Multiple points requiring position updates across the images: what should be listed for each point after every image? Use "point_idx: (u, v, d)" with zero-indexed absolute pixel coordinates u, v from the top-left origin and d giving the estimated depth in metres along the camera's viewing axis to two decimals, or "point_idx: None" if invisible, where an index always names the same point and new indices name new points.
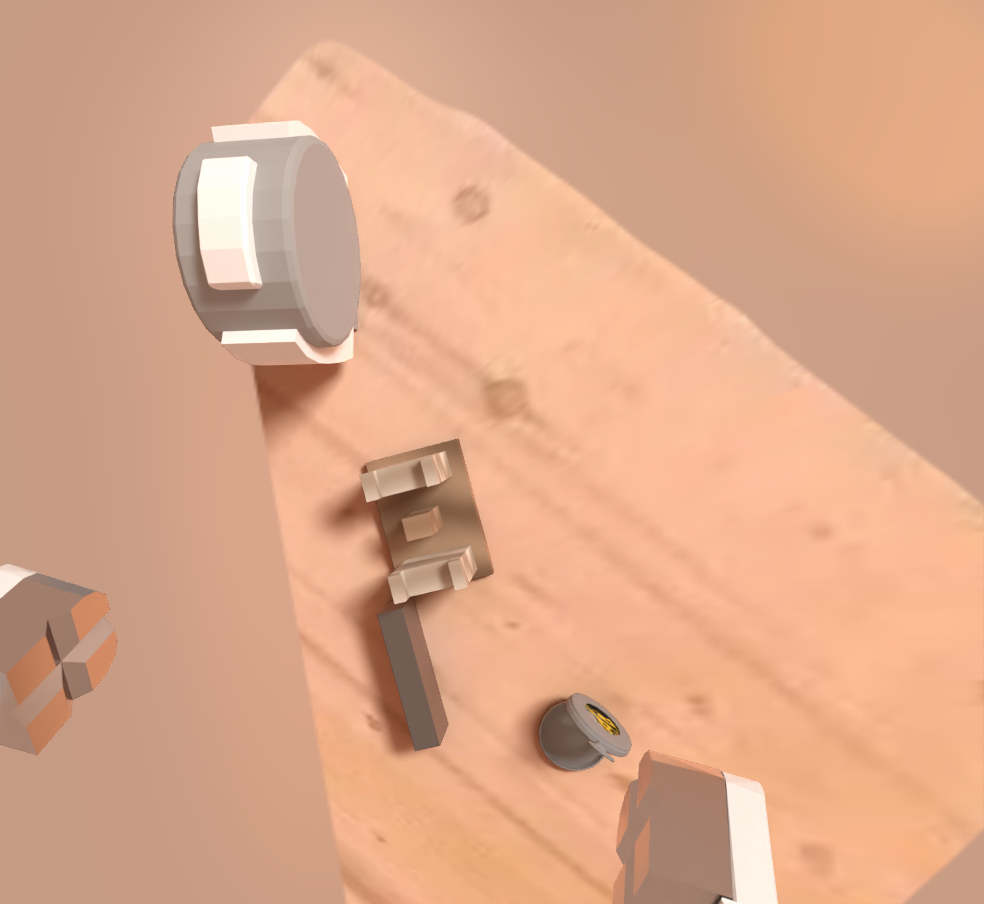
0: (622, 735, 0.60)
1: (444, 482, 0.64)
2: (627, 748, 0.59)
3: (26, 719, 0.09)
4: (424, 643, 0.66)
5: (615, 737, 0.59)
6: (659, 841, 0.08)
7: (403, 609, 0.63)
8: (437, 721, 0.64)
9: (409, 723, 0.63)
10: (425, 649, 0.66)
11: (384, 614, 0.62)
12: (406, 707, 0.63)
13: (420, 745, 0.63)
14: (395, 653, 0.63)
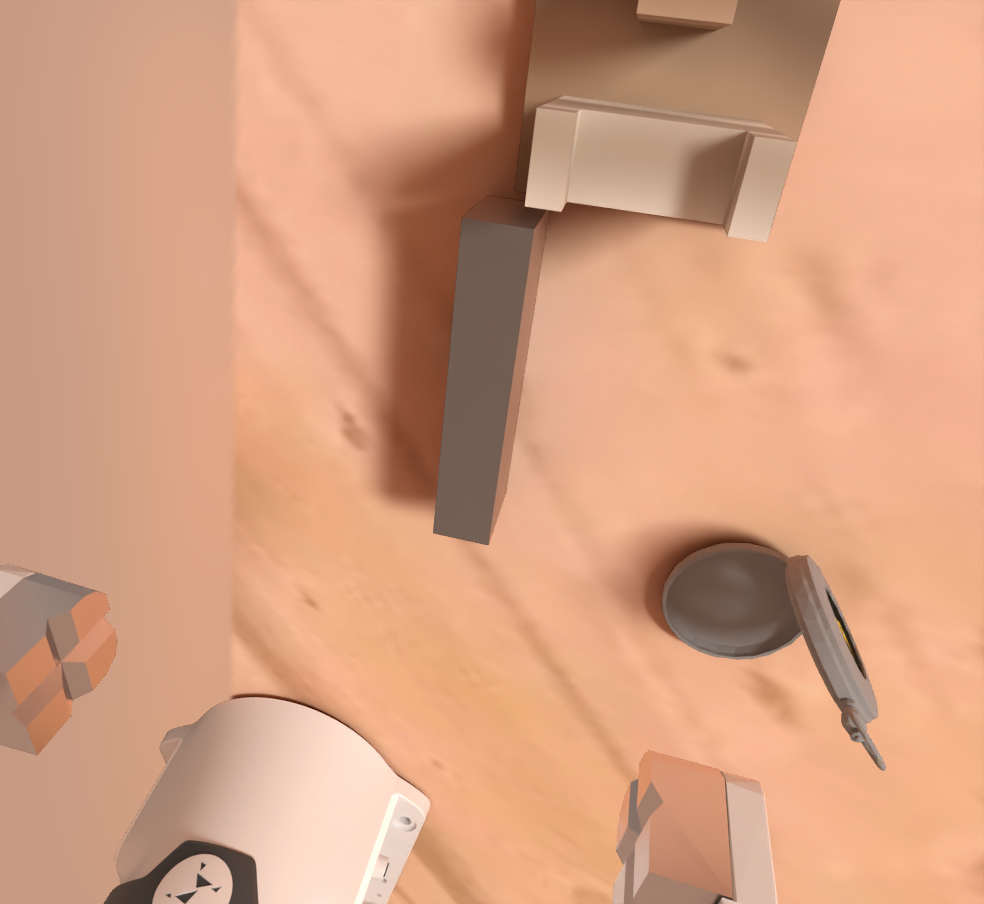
0: (866, 672, 0.28)
1: None
2: (877, 711, 0.27)
3: (26, 719, 0.09)
4: (530, 326, 0.28)
5: (868, 686, 0.26)
6: (659, 841, 0.08)
7: (535, 232, 0.23)
8: (498, 495, 0.29)
9: (442, 483, 0.28)
10: (527, 341, 0.28)
11: (481, 225, 0.22)
12: (448, 452, 0.27)
13: (448, 528, 0.29)
14: (470, 333, 0.24)
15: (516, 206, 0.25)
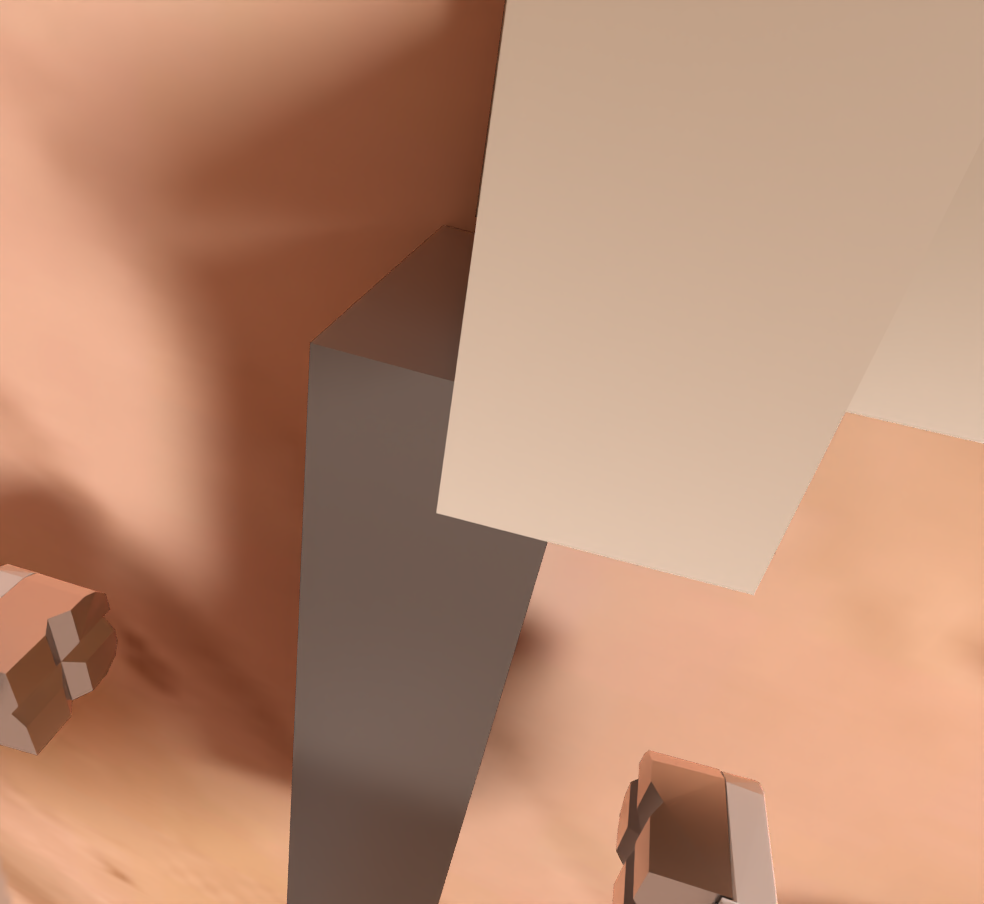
0: None
1: None
2: None
3: (26, 719, 0.09)
4: None
5: None
6: (659, 841, 0.08)
7: None
8: None
9: None
10: None
11: (382, 378, 0.06)
12: (307, 866, 0.11)
13: None
14: (354, 664, 0.08)
15: None
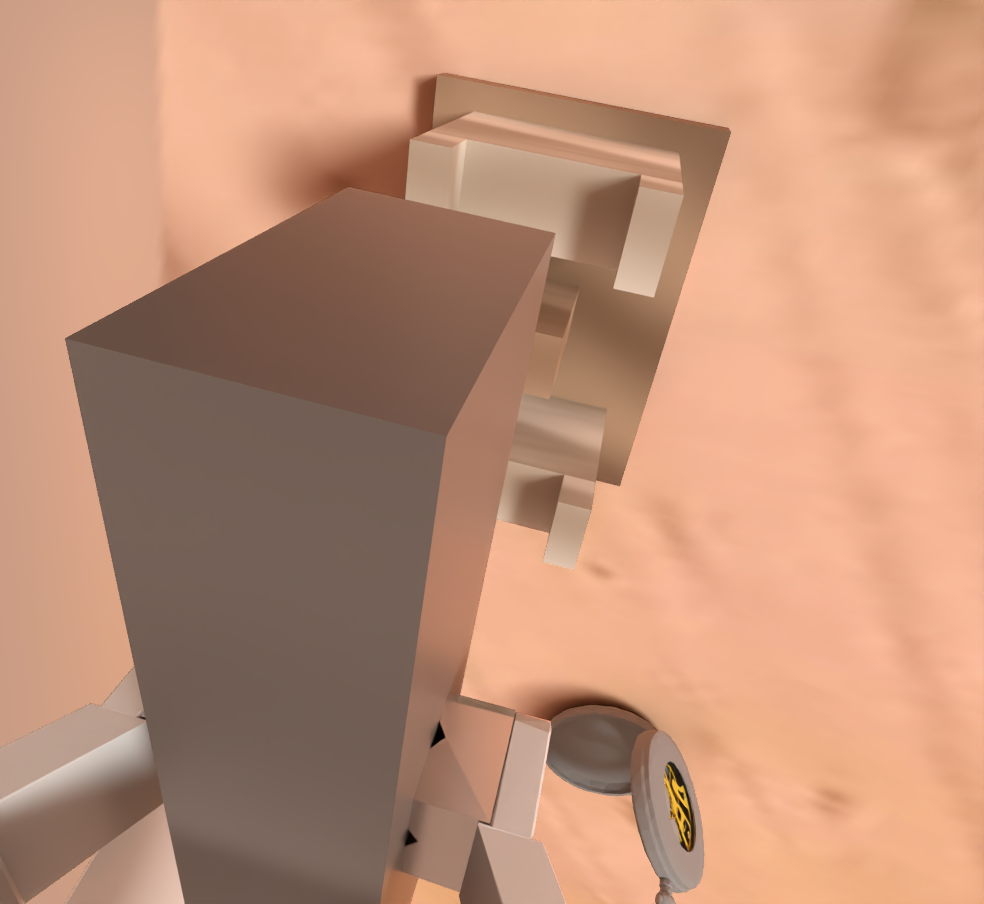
0: (698, 837, 0.32)
1: None
2: (700, 877, 0.31)
3: None
4: (479, 577, 0.10)
5: (692, 858, 0.31)
6: (431, 772, 0.08)
7: (458, 431, 0.04)
8: None
9: None
10: (468, 621, 0.10)
11: (167, 386, 0.04)
12: None
13: None
14: (218, 744, 0.06)
15: (422, 245, 0.07)
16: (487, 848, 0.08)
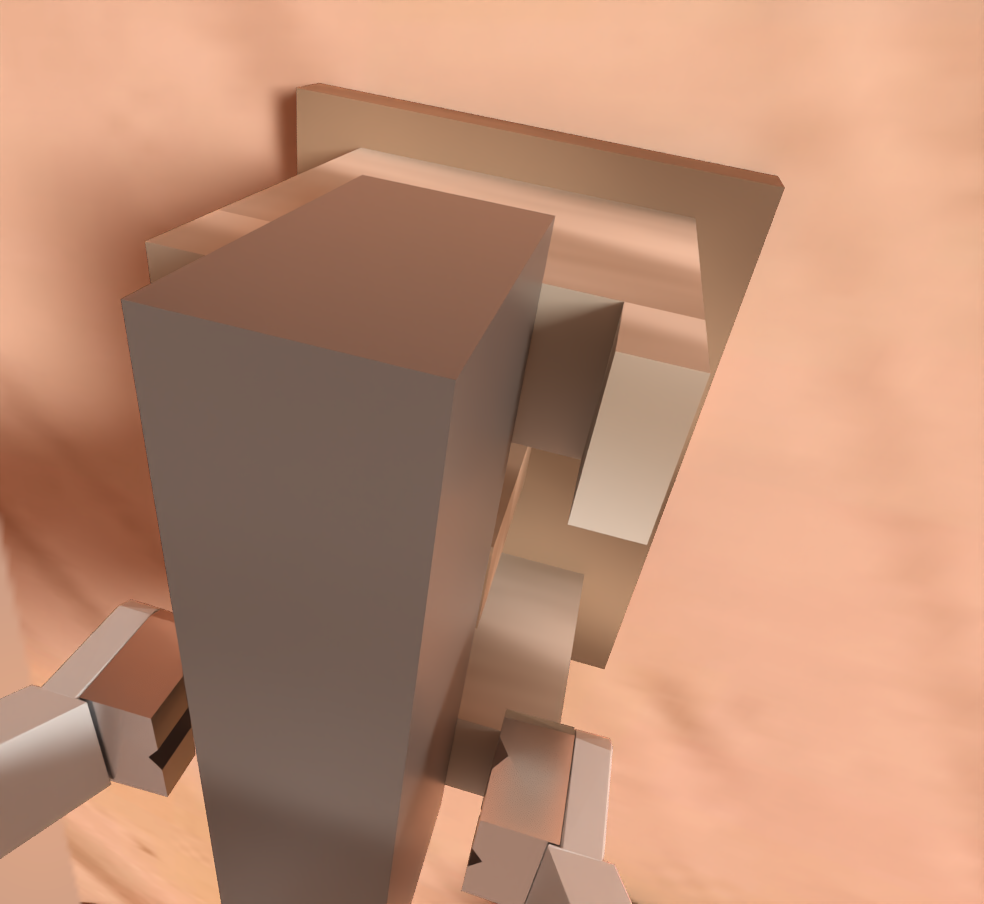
0: None
1: None
2: None
3: (161, 761, 0.09)
4: (486, 545, 0.10)
5: None
6: (496, 792, 0.08)
7: (466, 379, 0.05)
8: None
9: None
10: (476, 586, 0.10)
11: (211, 340, 0.05)
12: (240, 899, 0.10)
13: None
14: (246, 684, 0.07)
15: (432, 225, 0.07)
16: (559, 871, 0.08)
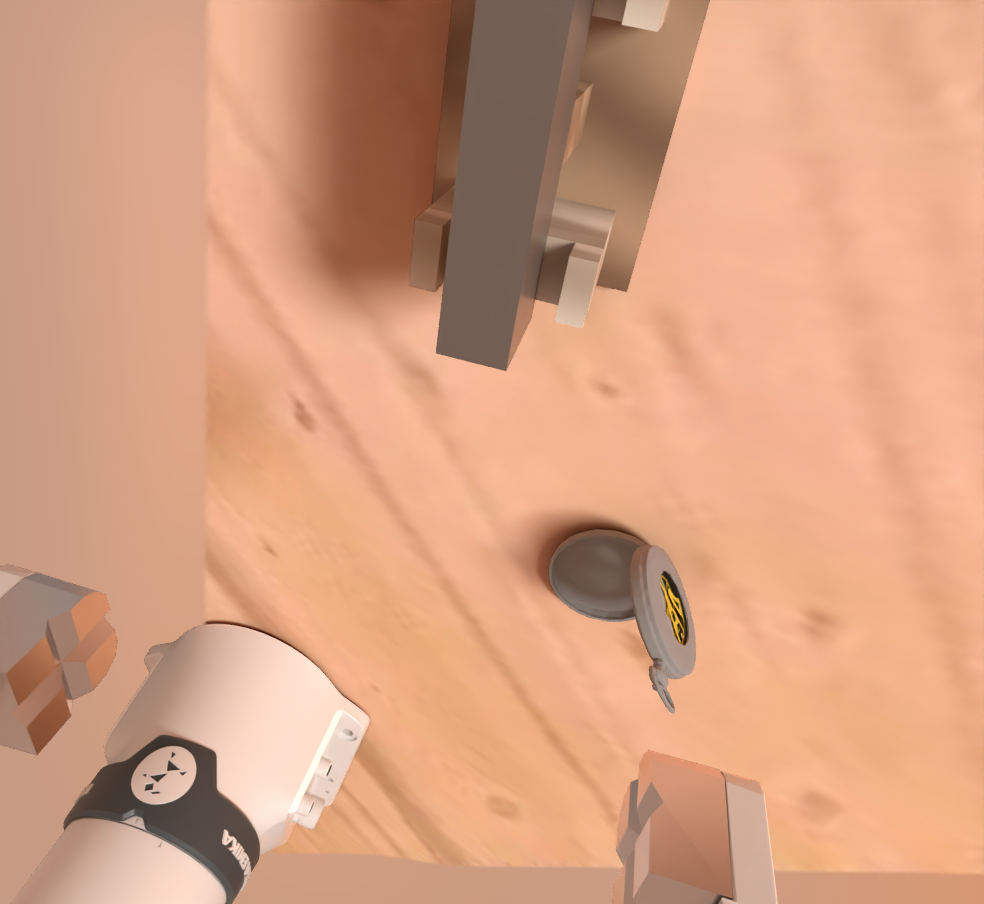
0: (690, 639, 0.35)
1: (637, 30, 0.24)
2: (691, 669, 0.34)
3: (26, 719, 0.09)
4: (578, 70, 0.21)
5: (684, 650, 0.34)
6: (659, 841, 0.08)
7: None
8: (523, 307, 0.22)
9: (450, 280, 0.21)
10: (572, 90, 0.21)
11: None
12: (460, 232, 0.20)
13: (455, 347, 0.22)
14: (499, 39, 0.17)
15: None
16: None
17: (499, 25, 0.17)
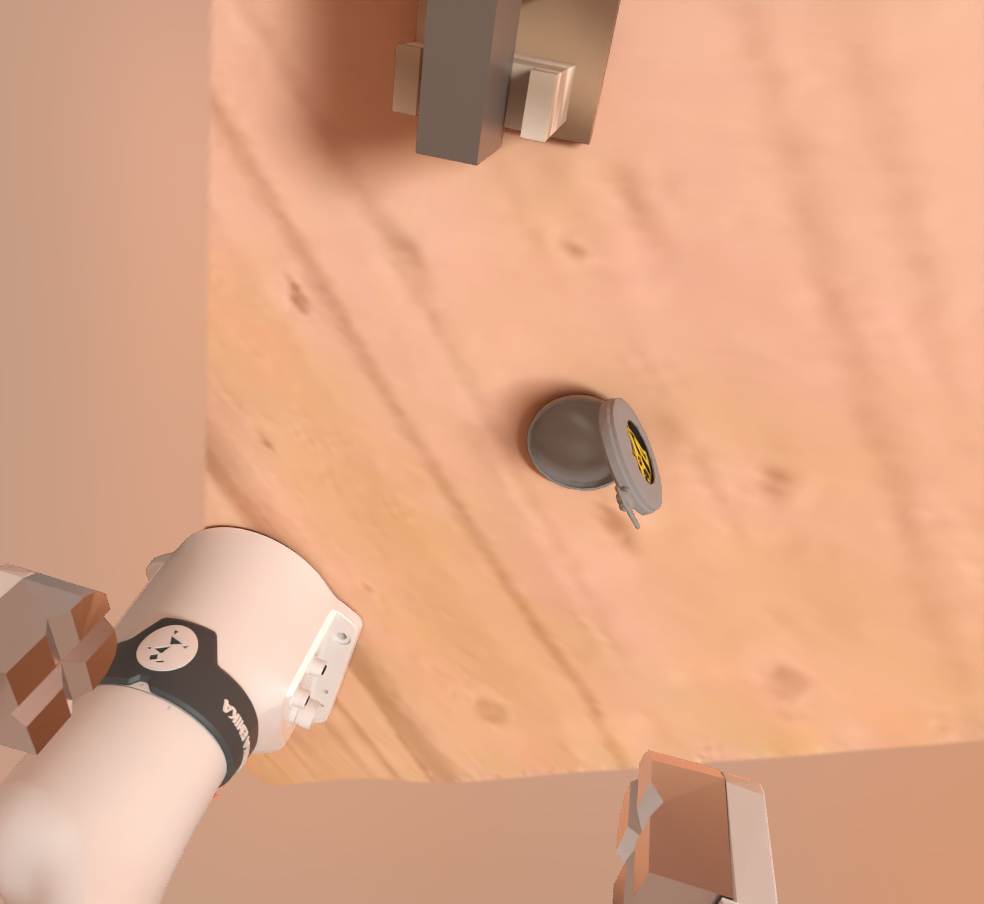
0: (656, 484, 0.38)
1: None
2: (657, 507, 0.37)
3: (26, 719, 0.09)
4: None
5: (649, 487, 0.37)
6: (659, 841, 0.08)
7: None
8: (490, 110, 0.26)
9: (426, 76, 0.25)
10: None
11: None
12: (434, 28, 0.24)
13: (432, 145, 0.26)
14: None
15: None
16: None
17: None
